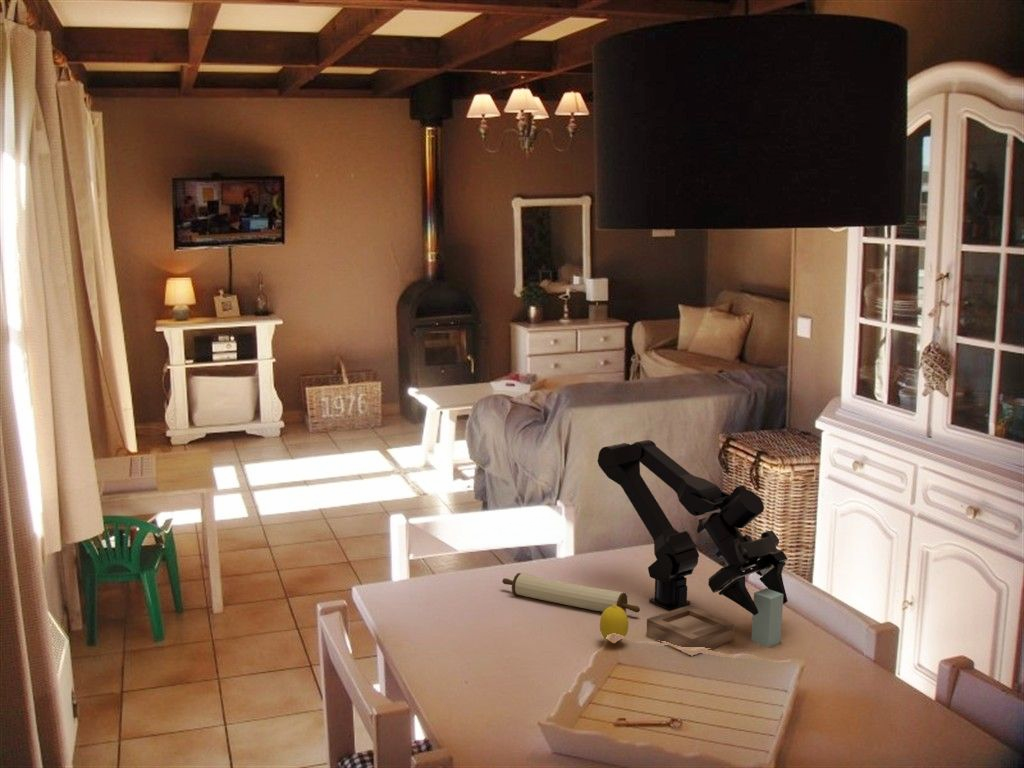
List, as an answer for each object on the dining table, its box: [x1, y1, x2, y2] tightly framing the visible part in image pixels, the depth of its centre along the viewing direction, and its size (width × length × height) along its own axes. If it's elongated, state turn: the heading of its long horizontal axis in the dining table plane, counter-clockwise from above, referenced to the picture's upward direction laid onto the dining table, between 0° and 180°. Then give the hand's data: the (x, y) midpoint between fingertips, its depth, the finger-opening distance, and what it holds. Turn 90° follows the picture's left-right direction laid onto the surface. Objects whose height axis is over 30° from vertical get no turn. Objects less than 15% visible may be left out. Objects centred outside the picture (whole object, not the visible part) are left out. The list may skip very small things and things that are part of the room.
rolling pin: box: [501, 572, 641, 613], centre depth 222 cm, size 32×6×5 cm, turn 62°
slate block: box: [750, 587, 784, 648], centre depth 203 cm, size 4×4×10 cm
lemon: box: [599, 605, 629, 640], centre depth 202 cm, size 6×6×8 cm
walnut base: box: [646, 604, 735, 650], centre depth 205 cm, size 12×12×4 cm
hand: (771, 608), depth 202 cm, fingers open, 9 cm apart
